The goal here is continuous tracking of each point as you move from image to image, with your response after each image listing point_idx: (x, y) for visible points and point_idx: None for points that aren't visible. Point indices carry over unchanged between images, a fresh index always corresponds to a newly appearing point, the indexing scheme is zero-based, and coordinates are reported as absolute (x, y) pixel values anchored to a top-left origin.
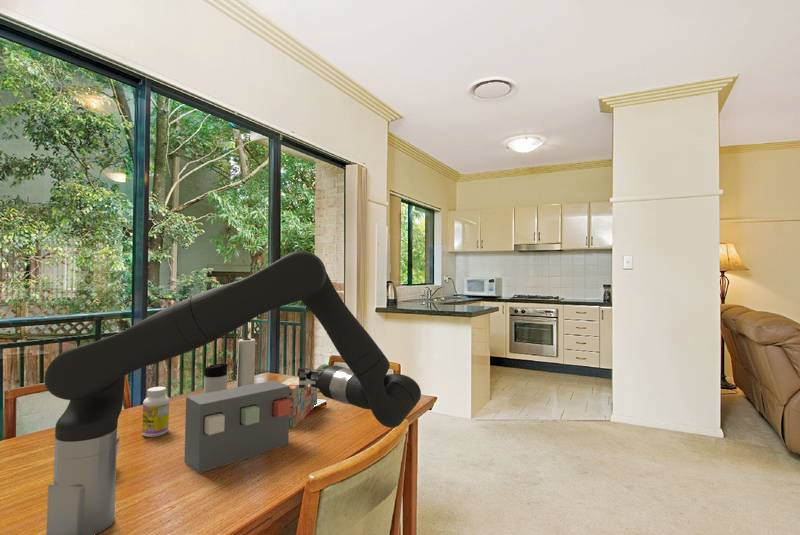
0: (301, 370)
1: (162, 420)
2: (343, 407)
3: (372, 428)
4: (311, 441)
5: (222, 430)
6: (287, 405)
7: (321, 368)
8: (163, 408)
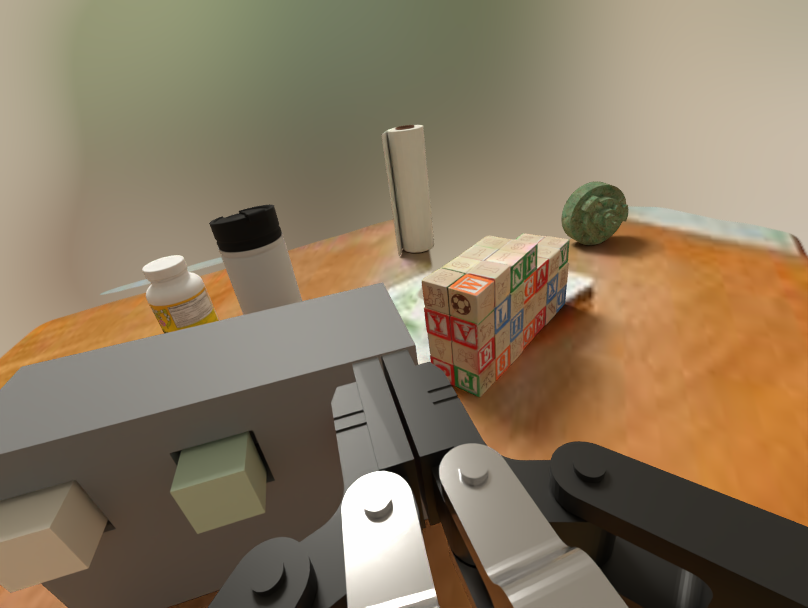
0: (363, 404)
1: None
2: (646, 319)
3: (802, 491)
4: None
5: (76, 568)
6: None
7: (599, 475)
8: (182, 309)
